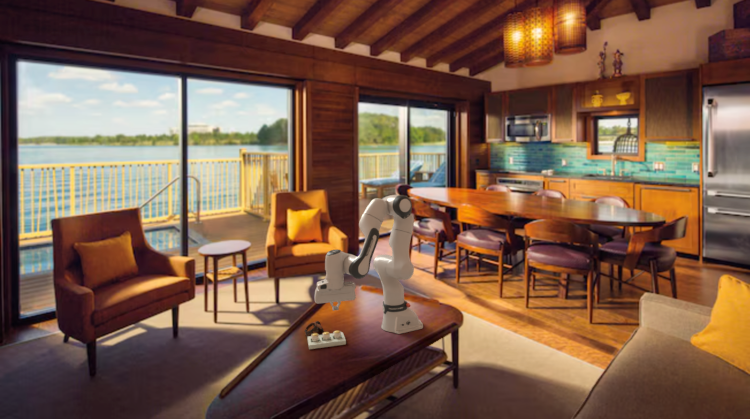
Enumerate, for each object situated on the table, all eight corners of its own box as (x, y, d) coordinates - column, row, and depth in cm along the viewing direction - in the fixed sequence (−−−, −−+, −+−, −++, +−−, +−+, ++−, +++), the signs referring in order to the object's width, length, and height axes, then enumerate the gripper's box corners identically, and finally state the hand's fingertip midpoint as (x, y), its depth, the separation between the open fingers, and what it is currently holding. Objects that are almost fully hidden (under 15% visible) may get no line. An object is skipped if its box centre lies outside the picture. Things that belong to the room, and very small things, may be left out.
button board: (342, 337, 216) (342, 332, 215) (346, 346, 206) (345, 340, 206) (307, 342, 212) (307, 336, 211) (309, 351, 202) (308, 345, 202)
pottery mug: (325, 340, 214) (316, 329, 211) (309, 347, 216) (300, 336, 213) (328, 325, 225) (320, 314, 222) (313, 332, 227) (305, 321, 225)
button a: (340, 335, 212) (340, 329, 211) (341, 338, 208) (341, 332, 208) (333, 336, 211) (332, 330, 211) (334, 339, 208) (333, 333, 207)
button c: (318, 338, 209) (318, 332, 209) (319, 341, 206) (319, 335, 206) (311, 339, 209) (310, 333, 208) (311, 342, 205) (311, 336, 205)
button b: (329, 337, 211) (329, 331, 210) (330, 340, 207) (330, 334, 207) (322, 338, 210) (322, 332, 209) (323, 341, 206) (322, 335, 206)
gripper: (354, 279, 211) (355, 305, 213) (313, 282, 206) (314, 309, 208) (356, 282, 205) (357, 310, 207) (314, 286, 200) (315, 314, 202)
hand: (335, 309), depth 208 cm, fingers closed
